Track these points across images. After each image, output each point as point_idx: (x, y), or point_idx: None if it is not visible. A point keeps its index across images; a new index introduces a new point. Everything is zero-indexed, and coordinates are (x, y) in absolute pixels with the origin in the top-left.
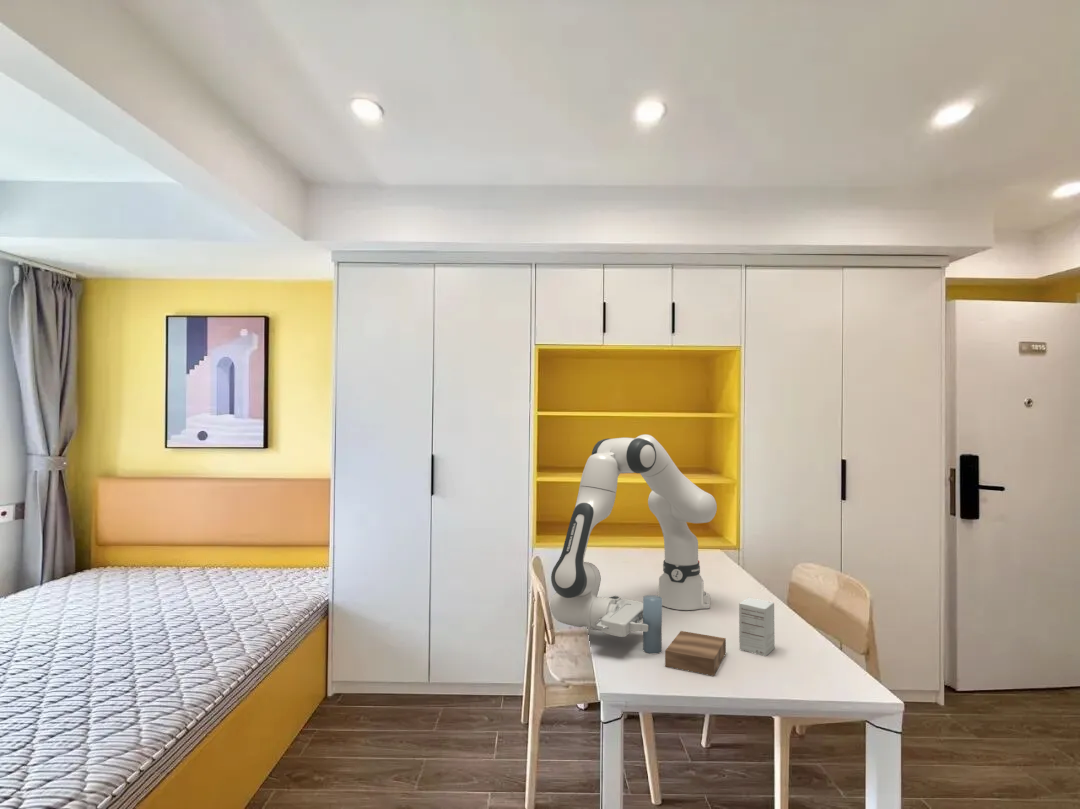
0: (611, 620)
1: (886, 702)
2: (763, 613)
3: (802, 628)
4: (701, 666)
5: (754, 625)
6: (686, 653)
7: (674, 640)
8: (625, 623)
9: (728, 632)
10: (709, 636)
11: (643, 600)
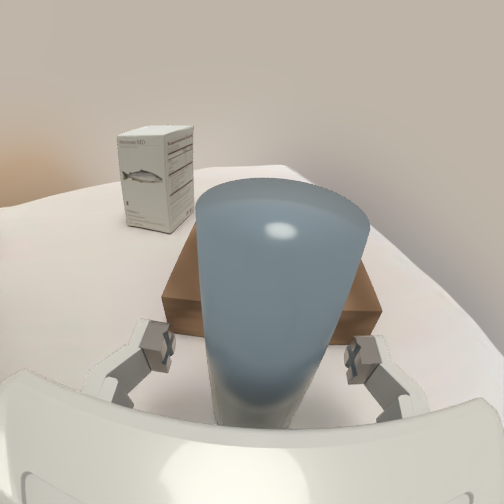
0: (501, 474)
1: (287, 166)
2: (192, 135)
3: (74, 192)
4: None
5: (183, 167)
6: (359, 268)
7: None
8: (481, 398)
9: (72, 249)
10: (194, 238)
11: (339, 272)
